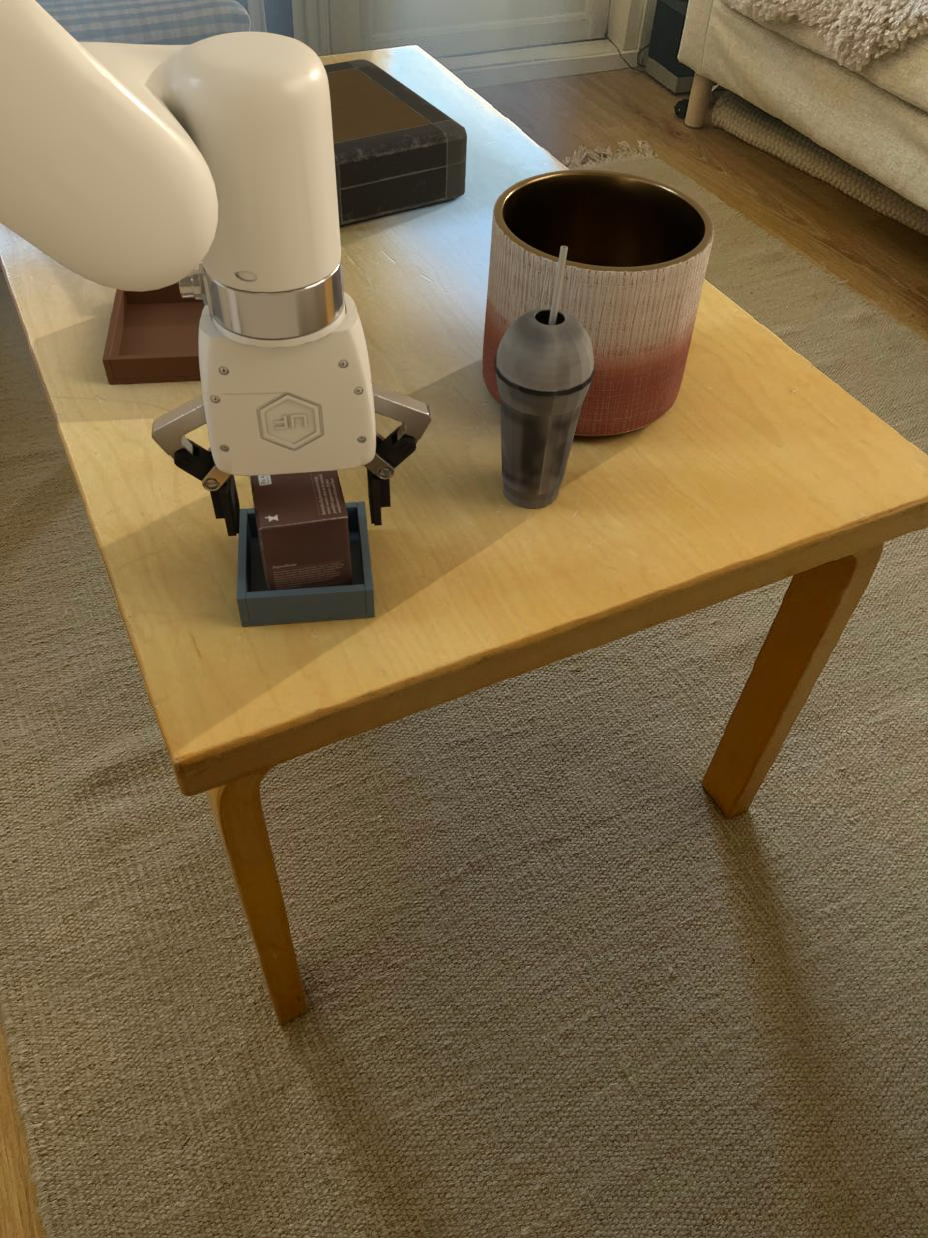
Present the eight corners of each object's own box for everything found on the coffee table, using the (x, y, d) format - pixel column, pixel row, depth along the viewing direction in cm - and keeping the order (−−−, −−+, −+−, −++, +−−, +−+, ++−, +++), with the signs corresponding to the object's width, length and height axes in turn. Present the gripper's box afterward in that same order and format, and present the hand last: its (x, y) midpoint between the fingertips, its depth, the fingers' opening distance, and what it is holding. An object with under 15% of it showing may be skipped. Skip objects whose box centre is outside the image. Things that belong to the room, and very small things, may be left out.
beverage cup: (469, 500, 78) (482, 263, 64) (509, 450, 83) (530, 218, 68) (553, 531, 76) (586, 293, 61) (589, 479, 81) (629, 245, 66)
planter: (697, 358, 93) (737, 192, 82) (649, 467, 82) (687, 293, 70) (520, 315, 97) (534, 151, 86) (450, 413, 86) (456, 239, 74)
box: (354, 595, 70) (349, 517, 65) (269, 607, 69) (256, 529, 64) (341, 537, 74) (336, 460, 69) (260, 548, 73) (248, 470, 68)
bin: (241, 626, 69) (236, 599, 66) (243, 536, 75) (238, 508, 73) (375, 617, 70) (373, 589, 68) (366, 528, 76) (364, 501, 74)
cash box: (221, 148, 121) (212, 80, 115) (370, 120, 128) (367, 54, 123) (309, 236, 107) (303, 164, 101) (470, 198, 114) (473, 128, 108)
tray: (108, 384, 87) (102, 359, 85) (123, 305, 96) (117, 281, 94) (283, 376, 89) (280, 352, 87) (282, 300, 98) (279, 276, 96)
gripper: (110, 333, 52) (173, 565, 65) (437, 317, 54) (436, 545, 67) (124, 262, 57) (180, 490, 70) (423, 249, 59) (424, 474, 72)
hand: (305, 517), depth 68 cm, fingers open, 9 cm apart
